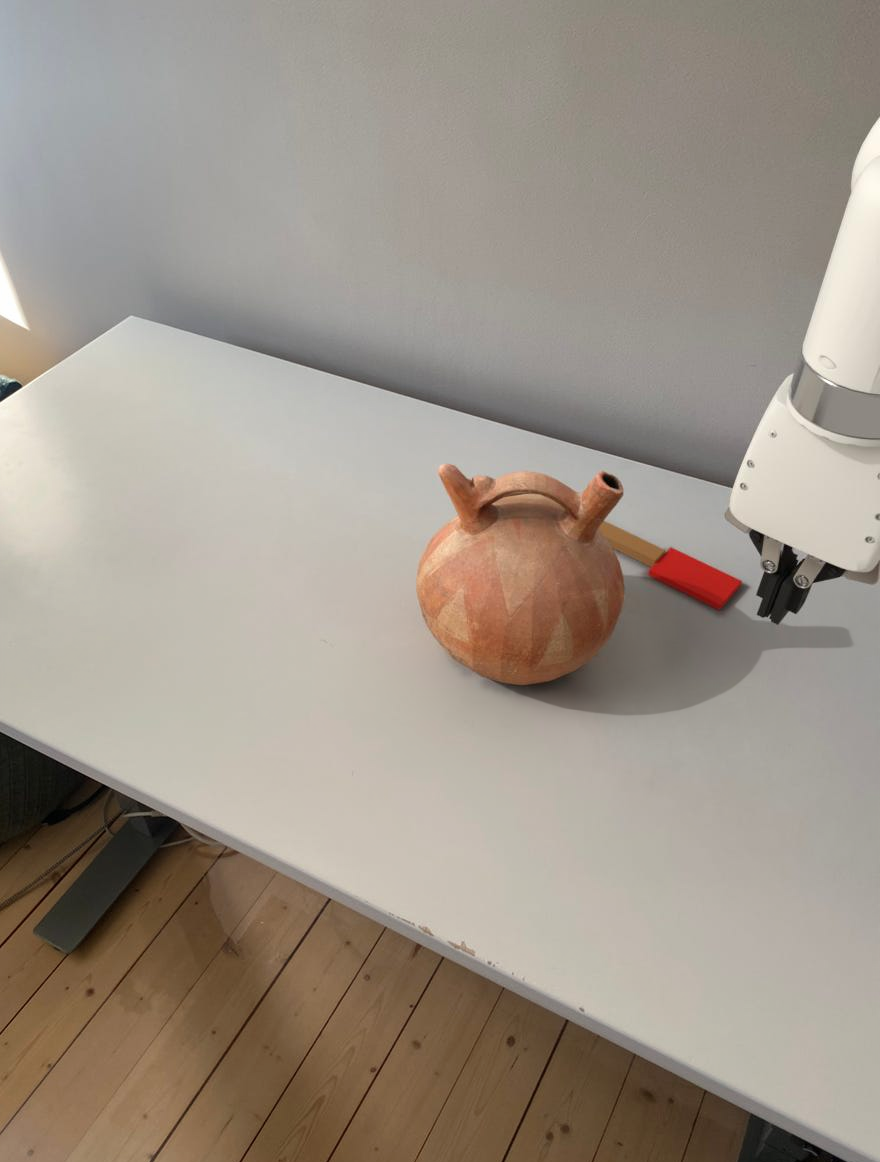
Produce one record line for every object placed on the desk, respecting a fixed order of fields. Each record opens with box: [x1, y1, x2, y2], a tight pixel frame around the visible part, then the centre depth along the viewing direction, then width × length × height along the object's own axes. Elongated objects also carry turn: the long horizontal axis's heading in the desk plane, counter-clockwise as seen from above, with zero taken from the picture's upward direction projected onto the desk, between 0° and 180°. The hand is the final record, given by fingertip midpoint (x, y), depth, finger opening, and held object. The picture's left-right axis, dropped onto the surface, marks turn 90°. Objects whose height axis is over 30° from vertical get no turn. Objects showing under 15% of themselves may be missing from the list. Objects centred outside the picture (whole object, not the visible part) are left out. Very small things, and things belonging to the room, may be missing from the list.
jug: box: [415, 463, 626, 686], centre depth 81 cm, size 18×18×20 cm
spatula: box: [598, 520, 743, 611], centre depth 97 cm, size 4×22×1 cm, turn 49°
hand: (776, 608), depth 67 cm, fingers closed
